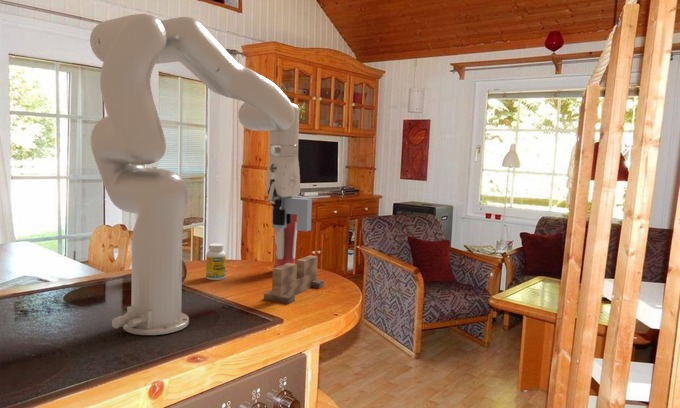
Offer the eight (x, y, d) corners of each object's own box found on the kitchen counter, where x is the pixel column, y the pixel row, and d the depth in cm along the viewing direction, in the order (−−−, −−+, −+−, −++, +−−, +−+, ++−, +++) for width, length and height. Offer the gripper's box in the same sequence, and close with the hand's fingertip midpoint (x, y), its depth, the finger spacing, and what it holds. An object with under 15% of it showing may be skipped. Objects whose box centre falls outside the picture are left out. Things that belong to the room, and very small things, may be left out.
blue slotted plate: (310, 230, 129) (311, 198, 128) (306, 231, 127) (307, 199, 126) (276, 226, 133) (277, 196, 132) (272, 227, 131) (272, 196, 130)
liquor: (269, 269, 157) (272, 178, 154) (291, 268, 160) (295, 179, 157) (276, 274, 150) (279, 180, 148) (300, 273, 153) (303, 180, 151)
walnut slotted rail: (288, 304, 122) (289, 271, 121) (263, 299, 124) (264, 267, 124) (324, 285, 140) (325, 257, 139) (301, 282, 143) (302, 254, 142)
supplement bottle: (219, 275, 147) (219, 242, 146) (229, 278, 143) (229, 245, 142) (202, 277, 143) (202, 243, 142) (212, 281, 139) (212, 246, 139)
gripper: (280, 152, 120) (278, 229, 122) (310, 153, 135) (308, 221, 137) (253, 151, 123) (252, 226, 125) (285, 152, 138) (284, 219, 140)
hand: (281, 223), depth 131 cm, fingers closed on blue slotted plate, 2 cm apart
